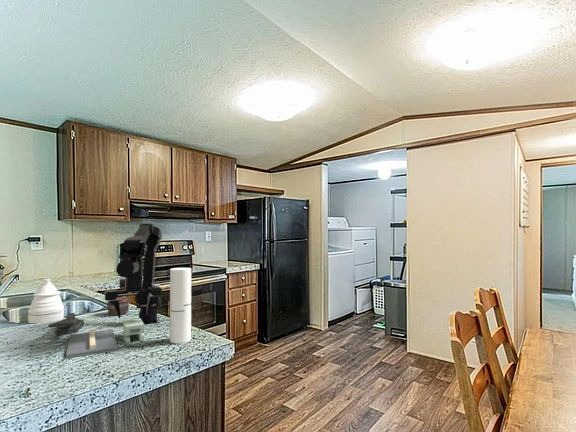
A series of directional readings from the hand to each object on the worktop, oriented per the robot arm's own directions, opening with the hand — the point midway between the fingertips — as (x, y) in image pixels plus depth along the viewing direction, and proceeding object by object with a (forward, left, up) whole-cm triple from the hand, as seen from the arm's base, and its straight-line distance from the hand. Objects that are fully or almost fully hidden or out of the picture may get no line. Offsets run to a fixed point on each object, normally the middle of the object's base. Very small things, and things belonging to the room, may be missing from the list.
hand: (133, 316), depth 127 cm
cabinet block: (0, 0, -8) cm, 8 cm away
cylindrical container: (-14, +12, -8) cm, 20 cm away
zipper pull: (+21, -19, -8) cm, 30 cm away
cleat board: (+13, 0, -7) cm, 15 cm away
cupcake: (+2, -43, -8) cm, 44 cm away
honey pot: (+30, -48, -8) cm, 57 cm away
